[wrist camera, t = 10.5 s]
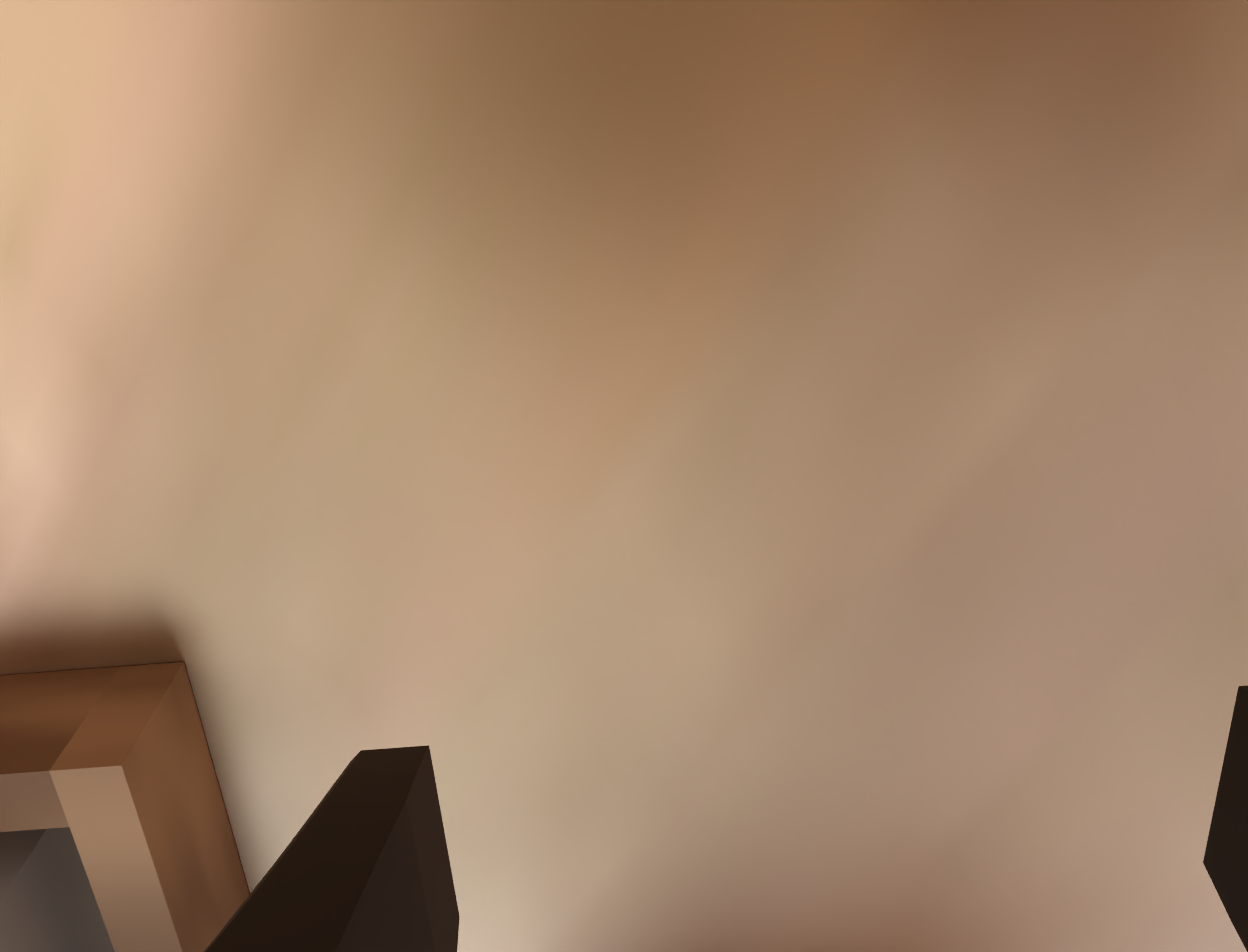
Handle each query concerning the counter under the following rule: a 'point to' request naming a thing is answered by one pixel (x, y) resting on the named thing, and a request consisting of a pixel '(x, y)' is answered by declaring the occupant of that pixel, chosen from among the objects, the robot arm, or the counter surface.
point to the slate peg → (47, 895)
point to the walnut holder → (125, 797)
